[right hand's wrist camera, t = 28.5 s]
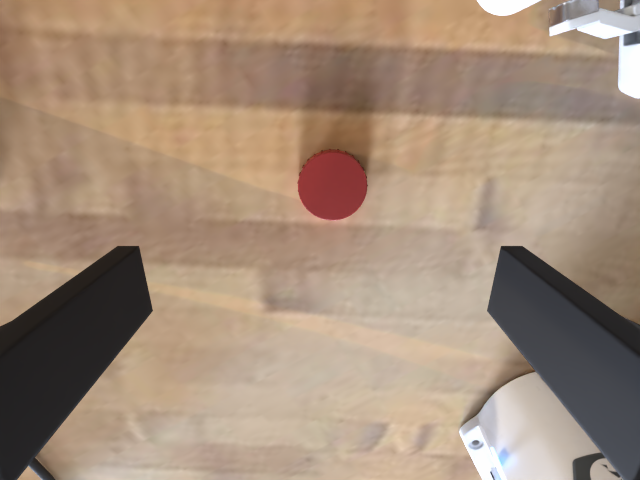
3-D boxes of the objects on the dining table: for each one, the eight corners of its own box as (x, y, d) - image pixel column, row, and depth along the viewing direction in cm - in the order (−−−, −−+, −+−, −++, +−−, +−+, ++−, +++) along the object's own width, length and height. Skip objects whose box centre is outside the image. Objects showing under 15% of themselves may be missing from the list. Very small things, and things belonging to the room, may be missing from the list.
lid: (290, 203, 31) (288, 208, 29) (310, 139, 29) (309, 140, 27) (351, 223, 31) (353, 230, 30) (375, 161, 29) (378, 165, 28)
